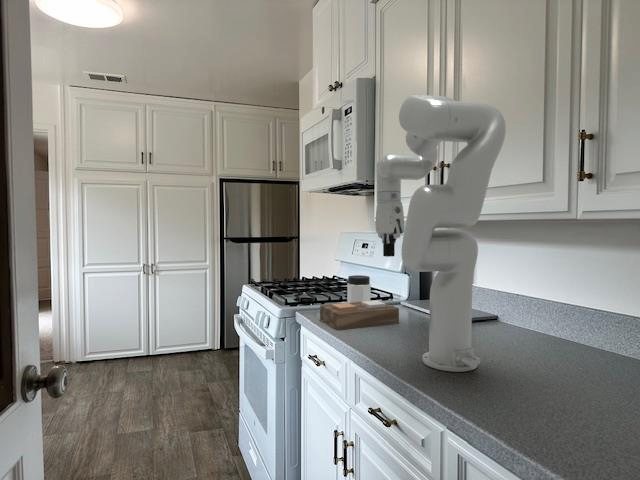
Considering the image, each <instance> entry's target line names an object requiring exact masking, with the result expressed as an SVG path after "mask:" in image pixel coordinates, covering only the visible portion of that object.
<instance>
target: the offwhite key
mask: <svg viewBox="0 0 640 480" xmlns="http://www.w3.org/2000/svg"><path fill="white" fill-rule="evenodd" d="M382 302H383V301H381V300H370V301H365V302H361V305H363V306H365V307H368V308H377V307H386V304H387V303H386V302H383V303H382ZM385 303H386V304H385Z"/></svg>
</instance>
